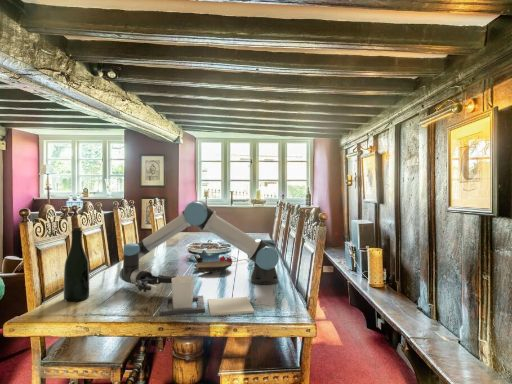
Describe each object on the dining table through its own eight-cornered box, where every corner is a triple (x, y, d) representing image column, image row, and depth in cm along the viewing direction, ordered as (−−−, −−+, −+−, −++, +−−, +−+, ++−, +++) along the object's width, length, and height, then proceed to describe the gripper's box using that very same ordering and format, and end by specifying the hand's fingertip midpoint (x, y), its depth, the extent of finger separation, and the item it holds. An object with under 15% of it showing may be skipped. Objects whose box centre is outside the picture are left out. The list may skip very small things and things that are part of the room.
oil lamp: (201, 278, 197) (201, 264, 197) (187, 267, 224) (187, 255, 224) (237, 274, 207) (237, 261, 207) (220, 264, 234) (220, 252, 234)
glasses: (218, 262, 240) (218, 255, 240) (236, 259, 251) (236, 252, 251) (231, 266, 230) (231, 258, 230) (249, 262, 241) (249, 255, 241)
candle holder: (189, 311, 144) (189, 282, 143) (167, 309, 146) (167, 281, 145) (197, 303, 153) (197, 276, 153) (177, 302, 155) (177, 275, 155)
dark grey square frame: (202, 298, 160) (202, 295, 160) (204, 312, 142) (204, 308, 142) (162, 300, 156) (162, 297, 156) (159, 315, 139) (159, 311, 139)
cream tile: (246, 299, 160) (246, 296, 160) (254, 312, 142) (254, 310, 142) (207, 301, 156) (207, 299, 156) (210, 315, 139) (210, 313, 139)
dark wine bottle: (71, 294, 164) (72, 225, 164) (93, 295, 164) (93, 225, 163) (58, 302, 153) (58, 228, 153) (81, 302, 153) (81, 228, 153)
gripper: (163, 280, 178) (190, 288, 165) (118, 291, 159) (144, 301, 145) (163, 266, 178) (190, 272, 165) (118, 275, 159) (144, 283, 145)
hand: (169, 286), depth 155 cm, fingers open, 13 cm apart
